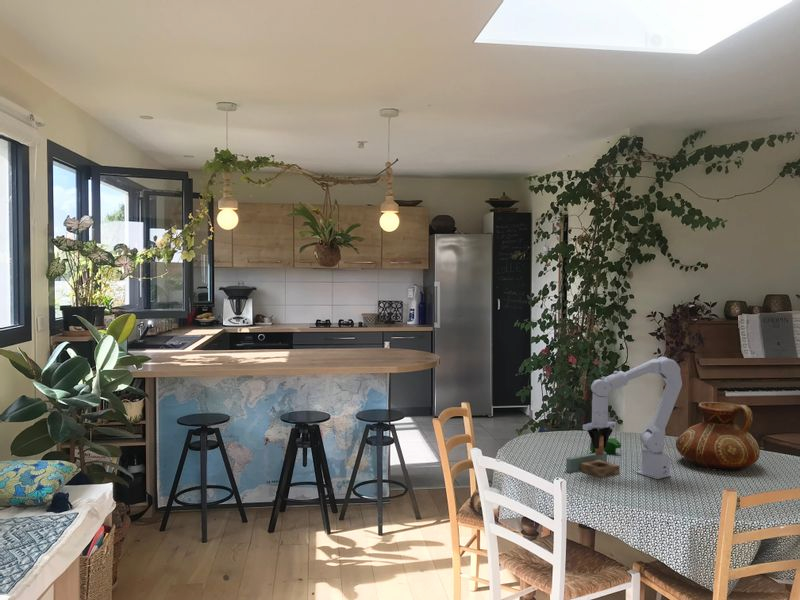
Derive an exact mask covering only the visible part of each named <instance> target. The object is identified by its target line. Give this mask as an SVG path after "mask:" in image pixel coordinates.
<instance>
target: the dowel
mask: <svg viewBox="0 0 800 600" xmlns="http://www.w3.org/2000/svg"><path fill="white" fill-rule="evenodd" d="M603 452H604V436H603V435H600V438H599V448H598V449H596V448H595V454H596V455H603Z"/></svg>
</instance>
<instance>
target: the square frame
mask: <svg viewBox="0 0 800 600" xmlns="http://www.w3.org/2000/svg"><path fill="white" fill-rule="evenodd" d="M579 472H582V473H585V474H588V475H591V476H594V477H598V478H600V479H601V478H606V477H610V476H615V474H616V475H619V474H620V465H618V464H615V463H611V462H608V461H607V462H605V461H602V460H594V461H588V462H583V463H580V471H579Z"/></svg>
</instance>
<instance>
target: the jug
mask: <svg viewBox="0 0 800 600" xmlns="http://www.w3.org/2000/svg"><path fill="white" fill-rule="evenodd" d="M697 407H698V409H699V410H700V413H701V416H702V417H703V421H702V422H700V423H697V424H695V425H692V426H690V427H688V428H687V429H686V430H685V431H683V432H682V433H681V434H680V435H679V436H678V437H677V439H676V440H675V447H676V450H677V452H678V454H680V456H682V457H684V458H685V459H687V460H688V461H690V462H691V463H692V464H694V465H696V466H698V467H700V466H701V468H703V467H704V468H705V469H708V468H709V469H708V470H712V469H715V471H720V470H722V471H721V472H740V471H742V470H745V469H746V468H749V467H751V466H752V465H754V464H756V463H757V461H758V460H759V457H760V453H761V452H760V451H761V450H760V447H759V443H758V442H757V440H756V439H755V438H754V437H753V436H752V434H751V433H749V429H750V428H751V425H752V422H753V419H754V418H753V417H754V416H753V411H752V410H751V408H750V407H749V406H747V405H746V404H740V405H739V404H735V403H730V402H721V401H720V402H719V401H718V402H717V401H702V402H700V403H698V404H697ZM741 410H743V413H744V421H743V424H742V426H741V427H740V426H738V425H737V424H736V421H737V419H738V416H739V414H740V412H741ZM704 468H703V469H704Z"/></svg>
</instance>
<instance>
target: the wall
mask: <svg viewBox="0 0 800 600" xmlns="http://www.w3.org/2000/svg"><path fill="white" fill-rule="evenodd" d="M607 457H608V453H607V452H603V455H596V454H595V453H592V452H591V453H587V454H582V455H577V456H571V457H567V458H565V459H566V460H565V461H566V464H565V467H566V468H565V469H566V470H565V471H566V472H567V473H570V474H571V473H575V472H581V471H580V463H583V462H588V461H594V460H602V461H605V462H608V458H607Z"/></svg>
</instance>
